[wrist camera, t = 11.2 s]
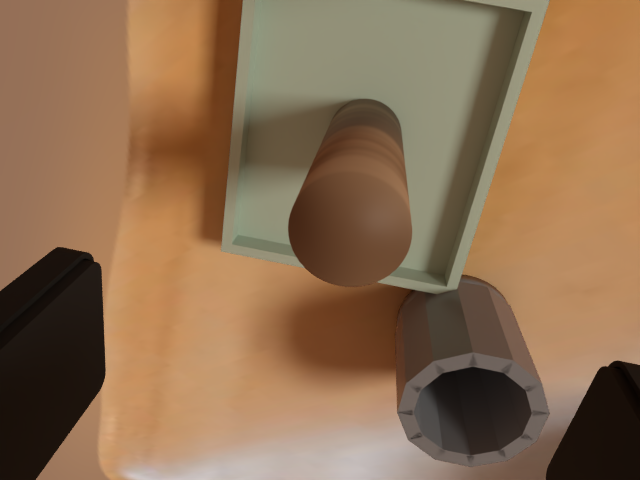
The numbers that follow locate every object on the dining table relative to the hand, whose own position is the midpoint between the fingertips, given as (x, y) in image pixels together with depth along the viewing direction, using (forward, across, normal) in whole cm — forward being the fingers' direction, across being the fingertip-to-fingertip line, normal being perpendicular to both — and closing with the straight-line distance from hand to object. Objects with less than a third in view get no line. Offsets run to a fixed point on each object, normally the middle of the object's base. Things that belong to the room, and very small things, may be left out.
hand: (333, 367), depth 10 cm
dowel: (+20, 0, +1) cm, 20 cm away
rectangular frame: (+21, 0, +1) cm, 21 cm away
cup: (+21, -8, +12) cm, 25 cm away
